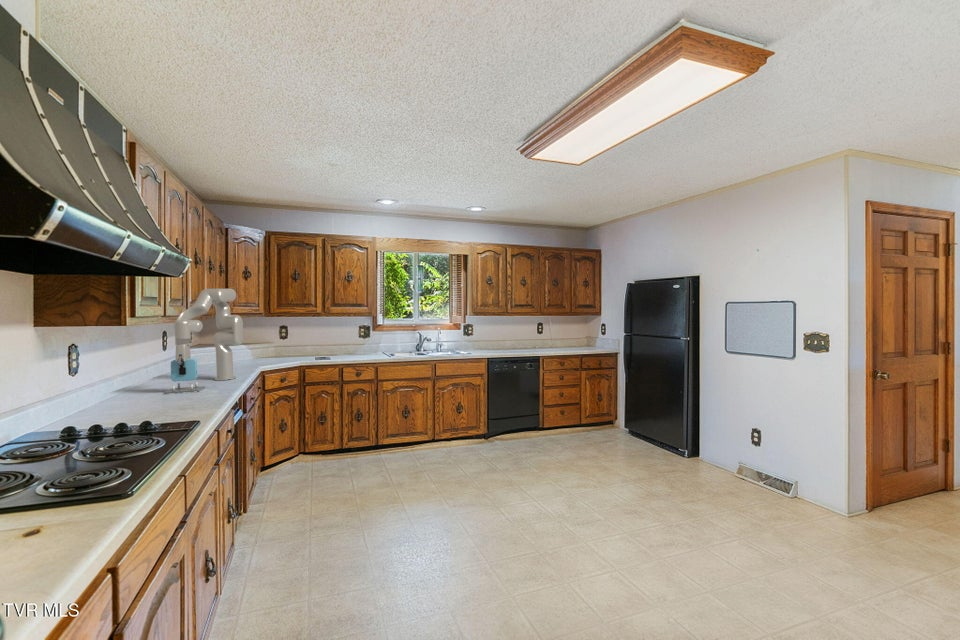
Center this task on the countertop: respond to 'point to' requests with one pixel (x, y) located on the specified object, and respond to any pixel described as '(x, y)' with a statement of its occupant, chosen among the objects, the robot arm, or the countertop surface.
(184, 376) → the light blue rounded slab
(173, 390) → the pin tray
